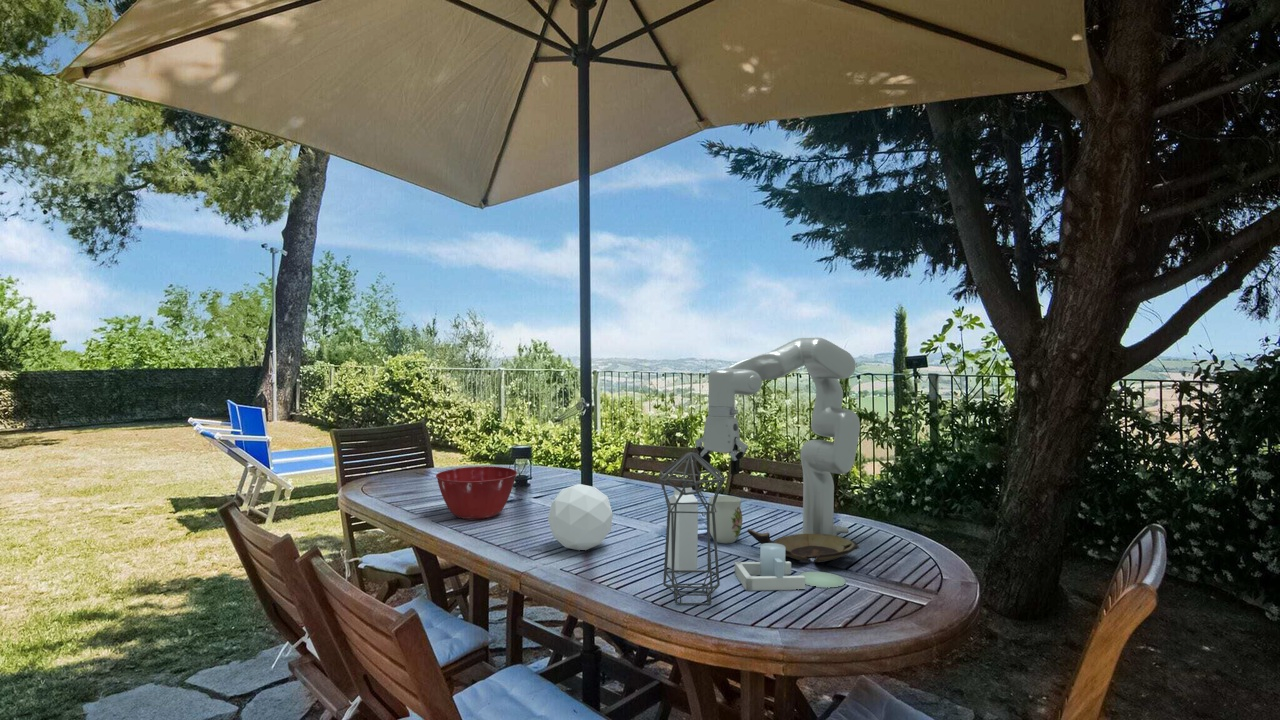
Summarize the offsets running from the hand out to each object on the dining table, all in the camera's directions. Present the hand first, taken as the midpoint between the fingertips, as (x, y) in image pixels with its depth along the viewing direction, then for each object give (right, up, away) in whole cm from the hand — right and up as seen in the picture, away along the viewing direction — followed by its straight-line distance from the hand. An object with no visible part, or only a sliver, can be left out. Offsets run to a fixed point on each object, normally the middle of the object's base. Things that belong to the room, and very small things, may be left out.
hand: (720, 472), depth 189 cm
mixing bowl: (-82, -24, +48) cm, 98 cm away
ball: (-41, -25, +9) cm, 49 cm away
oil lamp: (+25, -26, +2) cm, 35 cm away
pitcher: (+4, -25, +20) cm, 32 cm away
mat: (+24, -25, -18) cm, 39 cm away
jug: (+11, -25, -20) cm, 34 cm away
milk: (-12, -25, -10) cm, 29 cm away
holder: (+10, -25, -19) cm, 33 cm away
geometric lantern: (-11, -25, -31) cm, 41 cm away
